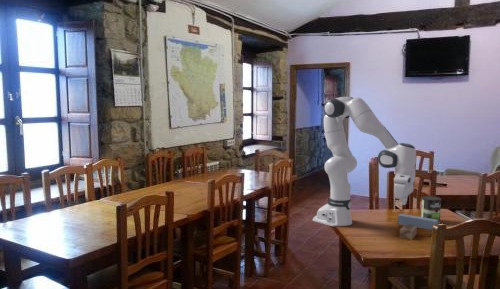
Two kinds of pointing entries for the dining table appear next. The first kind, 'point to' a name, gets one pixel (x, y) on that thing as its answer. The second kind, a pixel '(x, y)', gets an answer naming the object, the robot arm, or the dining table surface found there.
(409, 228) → the walnut block
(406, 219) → the board
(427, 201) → the coffee can
